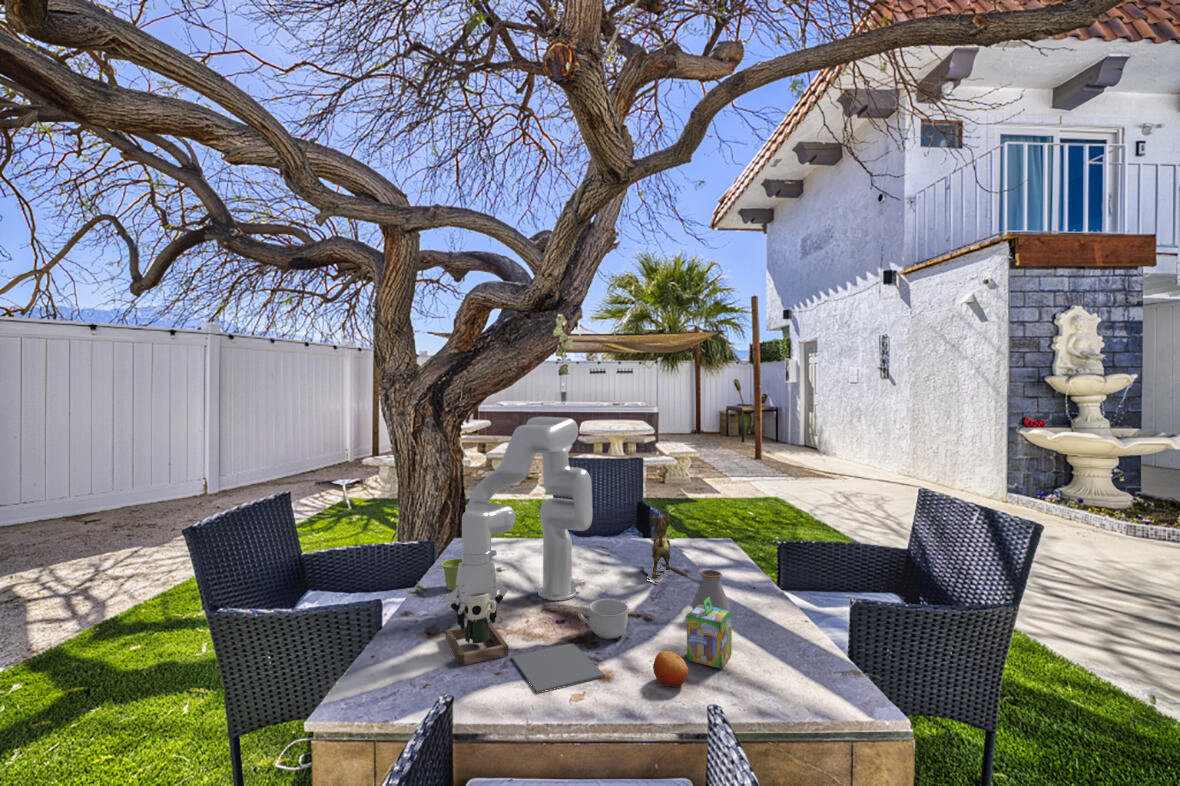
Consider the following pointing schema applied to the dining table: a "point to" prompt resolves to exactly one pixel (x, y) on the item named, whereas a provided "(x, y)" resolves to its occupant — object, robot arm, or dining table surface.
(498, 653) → the collar
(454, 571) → the plant pot
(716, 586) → the coffee pot
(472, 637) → the character mug
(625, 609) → the teacup
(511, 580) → the dining table surface
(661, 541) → the figurine
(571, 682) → the rubber mat
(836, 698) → the dining table surface
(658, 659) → the fruit
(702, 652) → the chalk box
